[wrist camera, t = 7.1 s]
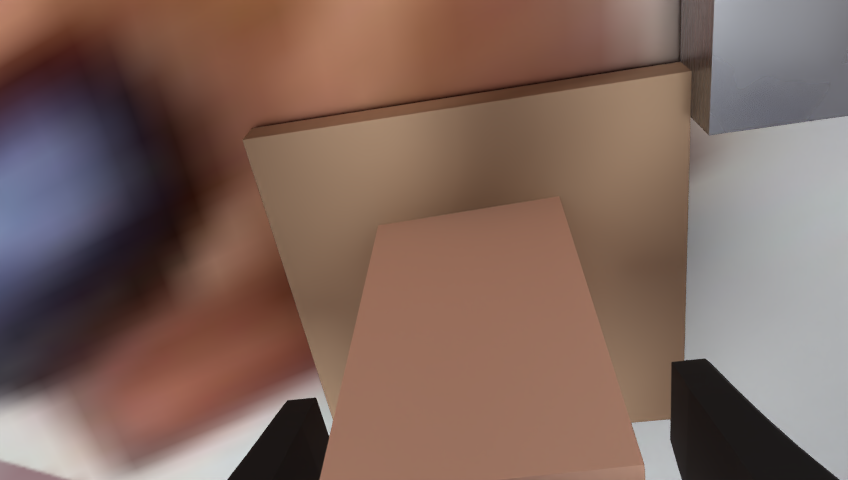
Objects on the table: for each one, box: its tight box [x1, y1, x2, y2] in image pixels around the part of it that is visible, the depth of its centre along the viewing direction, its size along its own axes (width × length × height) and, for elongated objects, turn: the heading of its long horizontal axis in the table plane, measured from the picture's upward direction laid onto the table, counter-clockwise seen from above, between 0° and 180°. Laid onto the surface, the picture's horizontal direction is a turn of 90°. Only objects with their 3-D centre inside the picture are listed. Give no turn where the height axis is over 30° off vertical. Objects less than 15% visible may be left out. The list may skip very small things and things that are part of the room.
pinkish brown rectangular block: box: [320, 196, 645, 480], centre depth 13 cm, size 4×4×8 cm
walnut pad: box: [243, 62, 692, 423], centre depth 17 cm, size 10×10×1 cm
